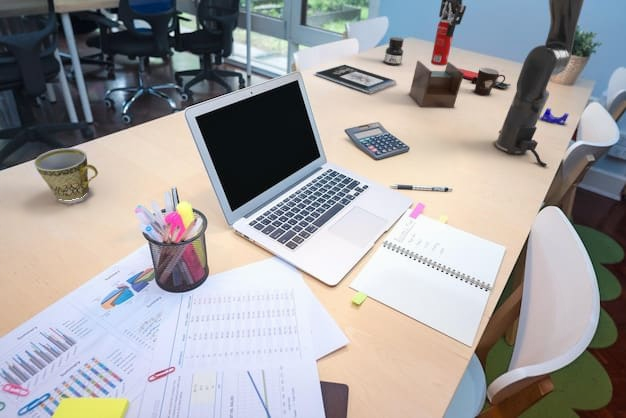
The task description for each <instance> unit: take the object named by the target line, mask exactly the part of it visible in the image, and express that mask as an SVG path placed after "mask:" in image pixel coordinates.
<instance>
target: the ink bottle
mask: <svg viewBox="0 0 626 418" xmlns="http://www.w3.org/2000/svg"><path fill="white" fill-rule="evenodd" d="M403 46H404V38H402V37H397V36H392V37H389V42H388V47H386V49H385V53H384V57H383V58H384V59H383V62H384V64H386V65H389V66H400V65H401V64H402V61H403V60H402V59H403V55H404V50H403Z"/></svg>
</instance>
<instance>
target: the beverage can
mask: <svg viewBox="0 0 626 418" xmlns="http://www.w3.org/2000/svg"><path fill="white" fill-rule="evenodd" d="M449 21H450V19H448V20H441V19H440V20H439V22H438V24H437V28H436V32H435V33H436V34H435V40H434V44H433V50H432V56H431V60H430V64H431V65H432V66H436V67H446V65H447V62H449V56H450V51H451V47H452V43H453V38H454V35H453V36H452V37H447V36H446V33H447V30H448V26H449Z"/></svg>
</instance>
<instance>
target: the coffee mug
mask: <svg viewBox="0 0 626 418" xmlns="http://www.w3.org/2000/svg"><path fill="white" fill-rule="evenodd" d="M477 73H478V77H477V82H476V84H475V88H474V91H473V92H474V94H476V95H479V96H483V97H488V96H489V95H490V93H491V92H492V89H493V88H496V87H499V86H498V85H500V84H502V83H505V81H506V76H505V75H504V74H500V71H499V70H497V69H495V68H491V67H479V69H478V71H477ZM500 77H503V80H502V81H500V82H501V83H499V84H497V85H494V83H495V81H496V79H497V78H498V79H499V78H500Z"/></svg>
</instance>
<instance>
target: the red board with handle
mask: <svg viewBox="0 0 626 418" xmlns="http://www.w3.org/2000/svg"><path fill="white" fill-rule="evenodd" d="M457 68H458V69H459V70H461V71H462V72H463V73H464V75H463V78H464V79H468V80H471V84H474V85H476V82H477V77H478V72H475V71H472V70H467V69H464V68H460V67H457ZM463 78H462V79H463ZM498 80H499V77H498V78H497V79H496V81H495V83H494V85H493V86H495V85H497V84H499V83H501V82H502V81H498ZM497 87H498V88H499V87H500V88H503V89H508V88H509V87H511V83H505V82H503V83H502V84H500V85H498V86H497Z"/></svg>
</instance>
